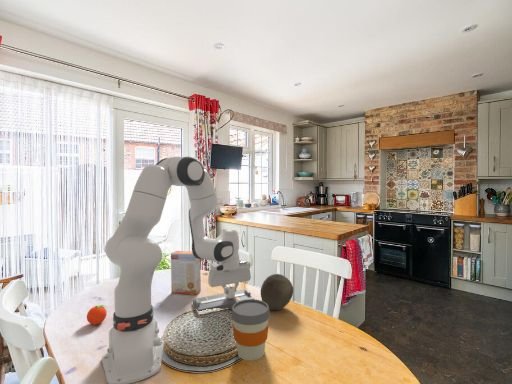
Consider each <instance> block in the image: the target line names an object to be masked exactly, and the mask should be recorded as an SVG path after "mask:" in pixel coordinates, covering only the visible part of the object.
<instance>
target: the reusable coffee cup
mask: <svg viewBox="0 0 512 384" xmlns="http://www.w3.org/2000/svg"><path fill="white" fill-rule="evenodd" d="M231 319H232V321H233V322H232V331H233V339H234V341H235V345H236V352H237V351H238V353H237V355H238V357H239V358H240V359H242V360H244V361H256V360H259V359H261V358H263V356H264V354H265V350H266V341H267V339H268V334H269V324H270V323H269V319H270V309H269V306H268V304H267V303H265V302H263V301H262V299H261V300H260V299H255V298H254V299H247V300H242V301H239V302H237V303H235V304H234V305H233V307H232V308H231Z"/></svg>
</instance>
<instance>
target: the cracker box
mask: <svg viewBox="0 0 512 384" xmlns="http://www.w3.org/2000/svg"><path fill="white" fill-rule="evenodd" d="M170 278H171V279H170V280H171V281H170V285H171V290H170V291H171V293H172V294H181V295H194V296H195V295H197V294H199V293H200V292H201V289H202V287H201V286H202V285H201V284H202V281H201V259H197V258H196V257H195V256H194V255H193V253H192V250H190V251H185V250H175V251H172V252H171V253H170Z"/></svg>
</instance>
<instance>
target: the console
mask: <svg viewBox="0 0 512 384" xmlns="http://www.w3.org/2000/svg"><path fill="white" fill-rule="evenodd" d="M247 299H255V297H253V296H252V294H251V291H249V290H248V289H247V288H244V289H239V290H236V292H235V298H231V299H229V298H228V296H227V295H226V294H225V293H224V292H223V293H219V294H214V295H208V296H203V297H196V298H193V299H192V306H193V307H194V308H193V309H195V310H196V309H197V310H198V311H202V310H206V309H213V308H229V309H228V310H232V307H233V305H234V304H235V303H237V302H239V301H242V300H247Z"/></svg>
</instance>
